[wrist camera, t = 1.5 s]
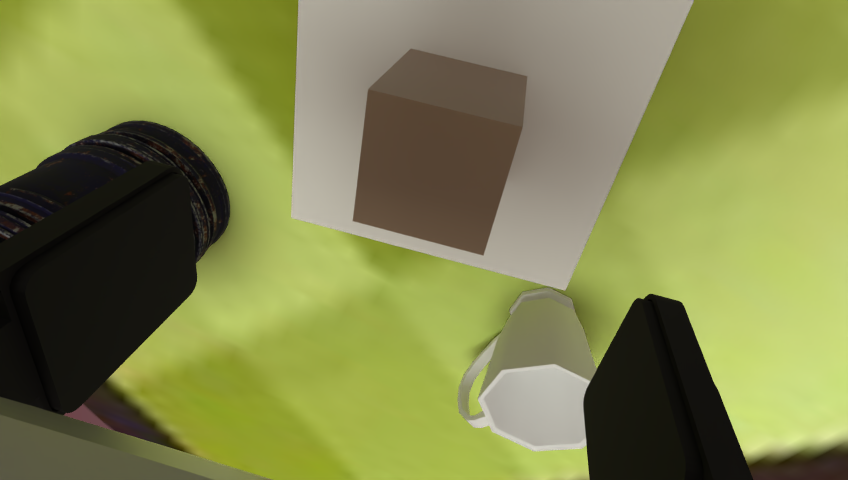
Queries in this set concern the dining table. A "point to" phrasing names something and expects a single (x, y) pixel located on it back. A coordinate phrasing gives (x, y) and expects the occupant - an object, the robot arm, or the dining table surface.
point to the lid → (473, 121)
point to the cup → (534, 375)
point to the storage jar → (108, 159)
